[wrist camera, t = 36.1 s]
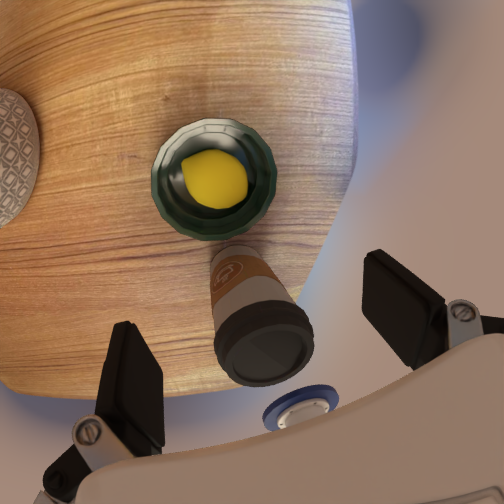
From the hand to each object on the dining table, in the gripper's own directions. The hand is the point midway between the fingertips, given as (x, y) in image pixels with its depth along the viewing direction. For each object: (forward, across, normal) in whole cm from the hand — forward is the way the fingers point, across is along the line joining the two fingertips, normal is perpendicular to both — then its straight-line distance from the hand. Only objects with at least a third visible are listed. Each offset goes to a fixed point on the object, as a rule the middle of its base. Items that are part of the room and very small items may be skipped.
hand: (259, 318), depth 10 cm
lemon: (+21, -1, -2) cm, 21 cm away
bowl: (+21, 0, -2) cm, 21 cm away
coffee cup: (+22, -1, +10) cm, 24 cm away
